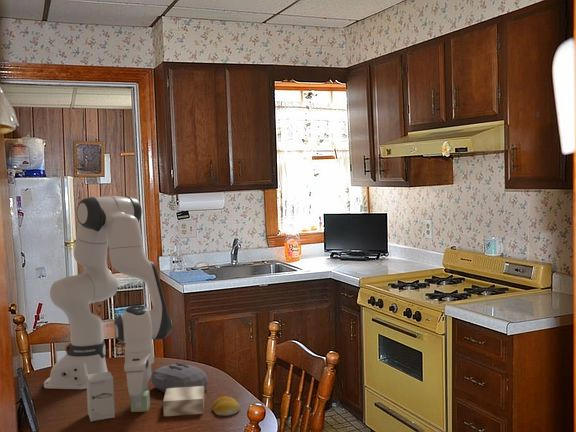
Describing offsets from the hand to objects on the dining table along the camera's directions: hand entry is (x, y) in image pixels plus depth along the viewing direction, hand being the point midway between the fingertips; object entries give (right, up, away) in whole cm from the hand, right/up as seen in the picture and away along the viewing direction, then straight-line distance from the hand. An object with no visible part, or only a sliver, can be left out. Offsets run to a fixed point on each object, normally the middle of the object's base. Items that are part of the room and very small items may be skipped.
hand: (141, 401), depth 200 cm
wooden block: (+14, -2, 0) cm, 14 cm away
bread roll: (+27, -2, -3) cm, 27 cm away
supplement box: (-11, -3, -5) cm, 13 cm away
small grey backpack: (+10, -1, +18) cm, 20 cm away
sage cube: (0, -3, 0) cm, 3 cm away
